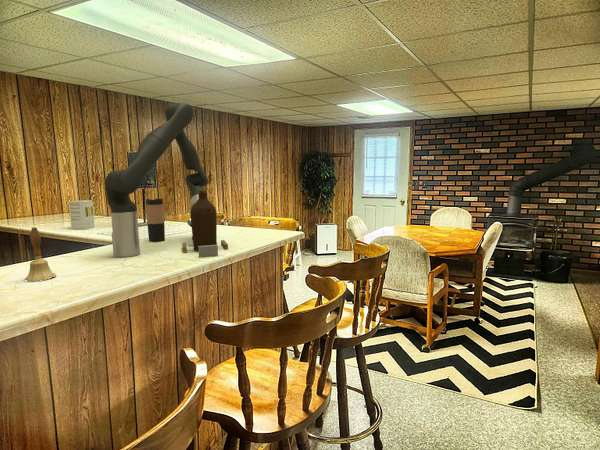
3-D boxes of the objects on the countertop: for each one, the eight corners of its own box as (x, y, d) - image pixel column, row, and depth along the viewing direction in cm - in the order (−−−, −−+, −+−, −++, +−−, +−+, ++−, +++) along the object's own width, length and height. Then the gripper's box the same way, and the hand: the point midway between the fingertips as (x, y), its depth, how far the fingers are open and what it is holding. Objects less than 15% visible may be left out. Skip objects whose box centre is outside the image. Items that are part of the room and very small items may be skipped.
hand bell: (21, 283, 111) (14, 230, 109) (28, 276, 119) (22, 226, 117) (53, 280, 115) (48, 228, 113) (58, 273, 122) (53, 225, 120)
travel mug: (159, 242, 176) (156, 199, 173) (145, 242, 178) (142, 199, 175) (168, 239, 183) (165, 198, 181) (154, 239, 185) (151, 198, 182)
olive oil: (223, 247, 161) (220, 189, 157) (207, 252, 151) (204, 190, 148) (203, 246, 165) (200, 189, 161) (186, 250, 155) (183, 190, 152)
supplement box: (86, 229, 223) (83, 201, 220) (70, 229, 223) (68, 201, 221) (95, 227, 232) (92, 200, 230) (80, 227, 232) (77, 200, 230)
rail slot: (183, 253, 151) (182, 248, 151) (182, 247, 162) (182, 243, 162) (228, 249, 157) (228, 244, 157) (224, 244, 168) (224, 240, 168)
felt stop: (199, 257, 143) (198, 247, 142) (198, 256, 145) (198, 246, 144) (217, 255, 145) (217, 245, 144) (217, 254, 147) (216, 244, 146)
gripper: (184, 201, 167) (188, 233, 157) (215, 200, 171) (219, 231, 162) (185, 212, 173) (188, 243, 163) (214, 211, 177) (218, 241, 167)
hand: (203, 237), depth 162 cm, fingers closed
